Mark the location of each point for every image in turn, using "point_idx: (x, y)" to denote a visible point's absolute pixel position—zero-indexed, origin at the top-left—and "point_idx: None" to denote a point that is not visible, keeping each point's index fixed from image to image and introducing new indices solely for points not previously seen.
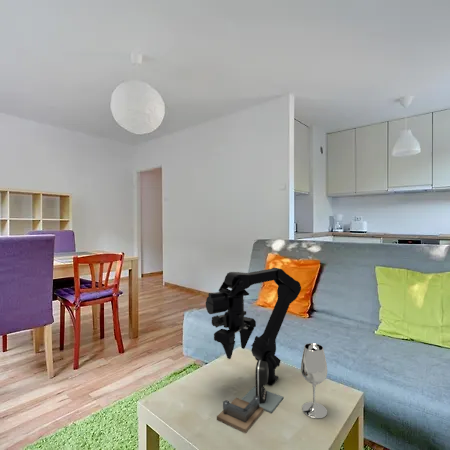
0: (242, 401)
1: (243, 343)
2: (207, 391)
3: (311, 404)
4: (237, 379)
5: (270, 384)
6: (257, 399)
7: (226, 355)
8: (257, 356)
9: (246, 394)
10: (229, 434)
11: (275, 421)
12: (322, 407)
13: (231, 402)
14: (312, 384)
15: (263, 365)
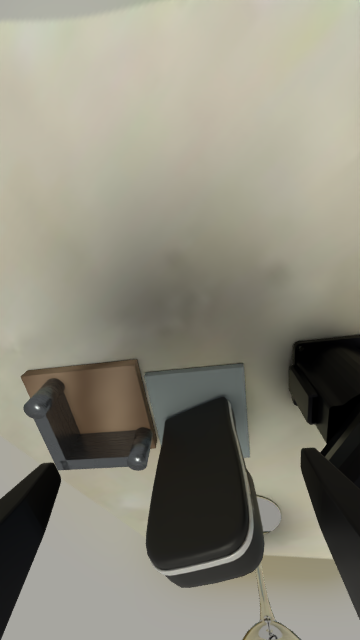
0: (134, 391)
1: (331, 529)
2: (91, 234)
3: (260, 514)
4: (256, 273)
5: (293, 401)
6: (132, 467)
7: (11, 490)
8: (338, 462)
9: (180, 374)
10: (26, 423)
11: (147, 473)
12: (267, 529)
13: (101, 369)
14: (261, 616)
15: (196, 583)
